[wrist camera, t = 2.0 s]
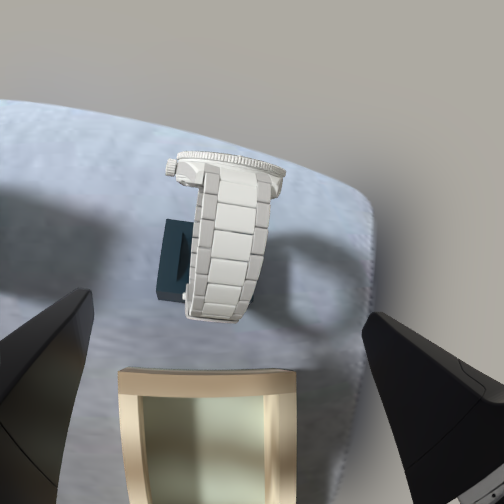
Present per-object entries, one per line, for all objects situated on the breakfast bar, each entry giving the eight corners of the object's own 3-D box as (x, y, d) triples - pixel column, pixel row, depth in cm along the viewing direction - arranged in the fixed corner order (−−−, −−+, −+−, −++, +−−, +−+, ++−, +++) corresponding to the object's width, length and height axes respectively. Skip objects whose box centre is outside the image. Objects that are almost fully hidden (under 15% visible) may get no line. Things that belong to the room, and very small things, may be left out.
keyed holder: (274, 513, 16) (294, 538, 12) (142, 520, 13) (140, 549, 10) (272, 368, 19) (296, 371, 16) (128, 366, 17) (117, 371, 13)
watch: (246, 222, 22) (308, 124, 12) (239, 334, 20) (314, 317, 10) (169, 211, 21) (177, 98, 11) (153, 325, 18) (133, 300, 8)
